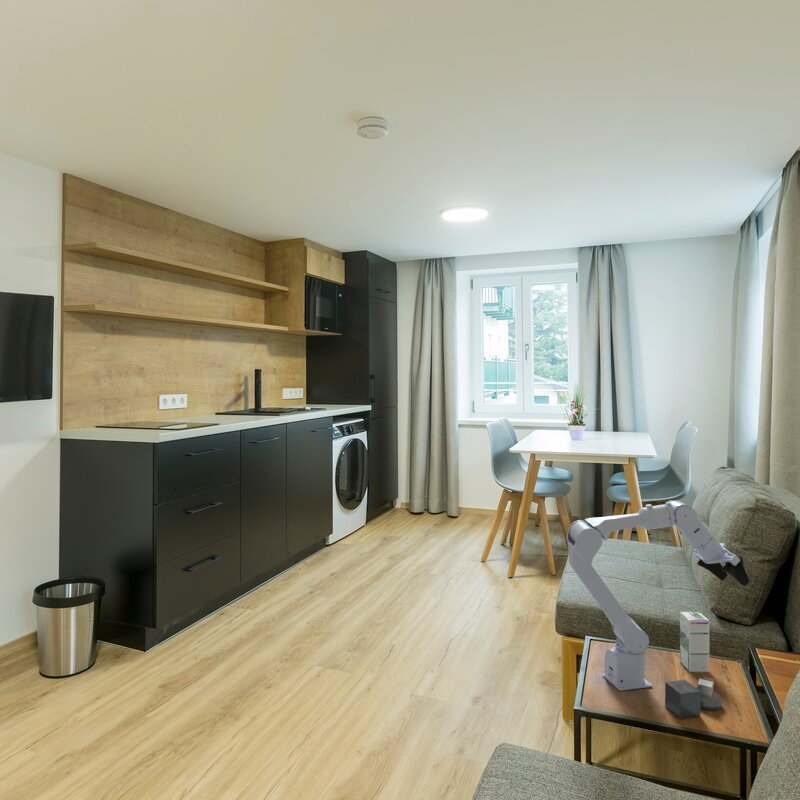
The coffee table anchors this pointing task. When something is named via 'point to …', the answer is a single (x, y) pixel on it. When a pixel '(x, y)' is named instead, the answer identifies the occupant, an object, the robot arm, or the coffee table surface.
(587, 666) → the coffee table surface
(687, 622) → the syrup box
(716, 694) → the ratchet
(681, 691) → the socket
